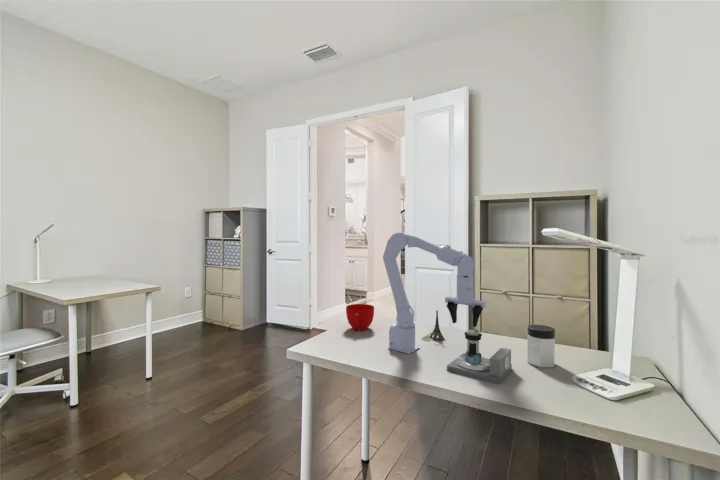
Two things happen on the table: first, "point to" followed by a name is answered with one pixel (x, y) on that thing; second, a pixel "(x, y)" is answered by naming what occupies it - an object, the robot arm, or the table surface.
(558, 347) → the table surface
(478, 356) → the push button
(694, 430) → the table surface
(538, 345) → the jar
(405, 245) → the robot arm
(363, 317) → the ceramic cup
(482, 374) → the postal scale
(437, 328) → the eiffel tower figurine
